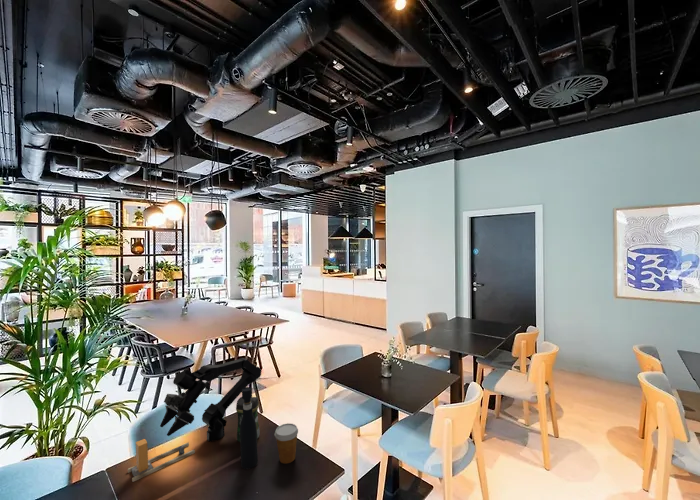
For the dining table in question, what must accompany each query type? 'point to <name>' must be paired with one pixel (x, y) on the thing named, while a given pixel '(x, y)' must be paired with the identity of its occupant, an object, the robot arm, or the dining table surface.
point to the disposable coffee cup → (286, 442)
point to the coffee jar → (240, 413)
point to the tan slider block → (141, 458)
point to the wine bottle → (248, 432)
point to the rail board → (163, 463)
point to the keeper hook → (181, 450)
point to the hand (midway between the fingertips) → (164, 431)
